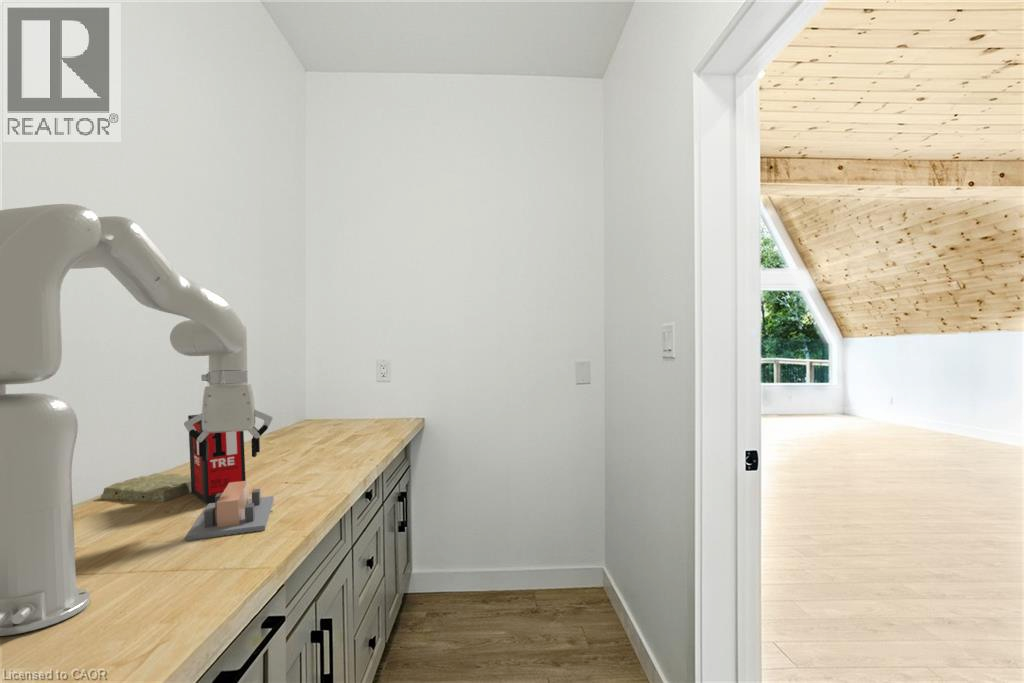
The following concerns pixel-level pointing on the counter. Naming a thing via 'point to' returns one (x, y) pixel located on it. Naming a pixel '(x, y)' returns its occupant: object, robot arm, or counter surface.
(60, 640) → the counter surface
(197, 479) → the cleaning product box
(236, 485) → the clay strip
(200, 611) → the counter surface
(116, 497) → the decorative tile
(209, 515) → the grey plate with pegs
